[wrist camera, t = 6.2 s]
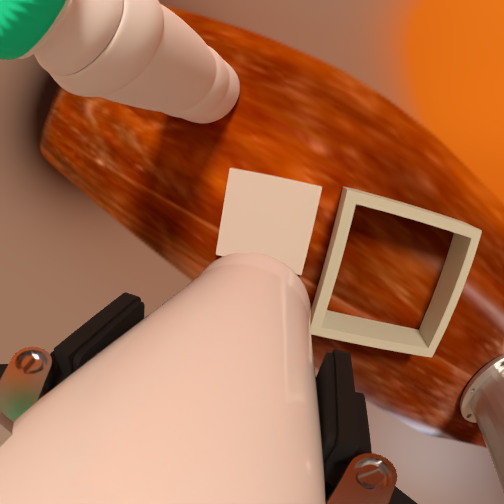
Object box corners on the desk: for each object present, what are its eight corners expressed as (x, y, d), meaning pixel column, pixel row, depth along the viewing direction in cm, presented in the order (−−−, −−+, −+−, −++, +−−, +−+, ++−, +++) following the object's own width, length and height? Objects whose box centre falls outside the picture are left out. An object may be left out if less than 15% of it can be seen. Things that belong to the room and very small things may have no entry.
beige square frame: (464, 222, 27) (482, 230, 23) (422, 338, 31) (431, 357, 27) (343, 186, 29) (347, 189, 25) (309, 314, 33) (308, 333, 29)
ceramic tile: (321, 186, 29) (322, 187, 28) (301, 272, 32) (301, 275, 31) (232, 167, 30) (229, 167, 29) (218, 252, 33) (215, 254, 32)
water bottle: (164, 93, 29) (-50, 39, 6) (213, 48, 27) (39, -84, 3) (203, 138, 30) (-31, 120, 6) (255, 92, 28) (89, -56, 4)
